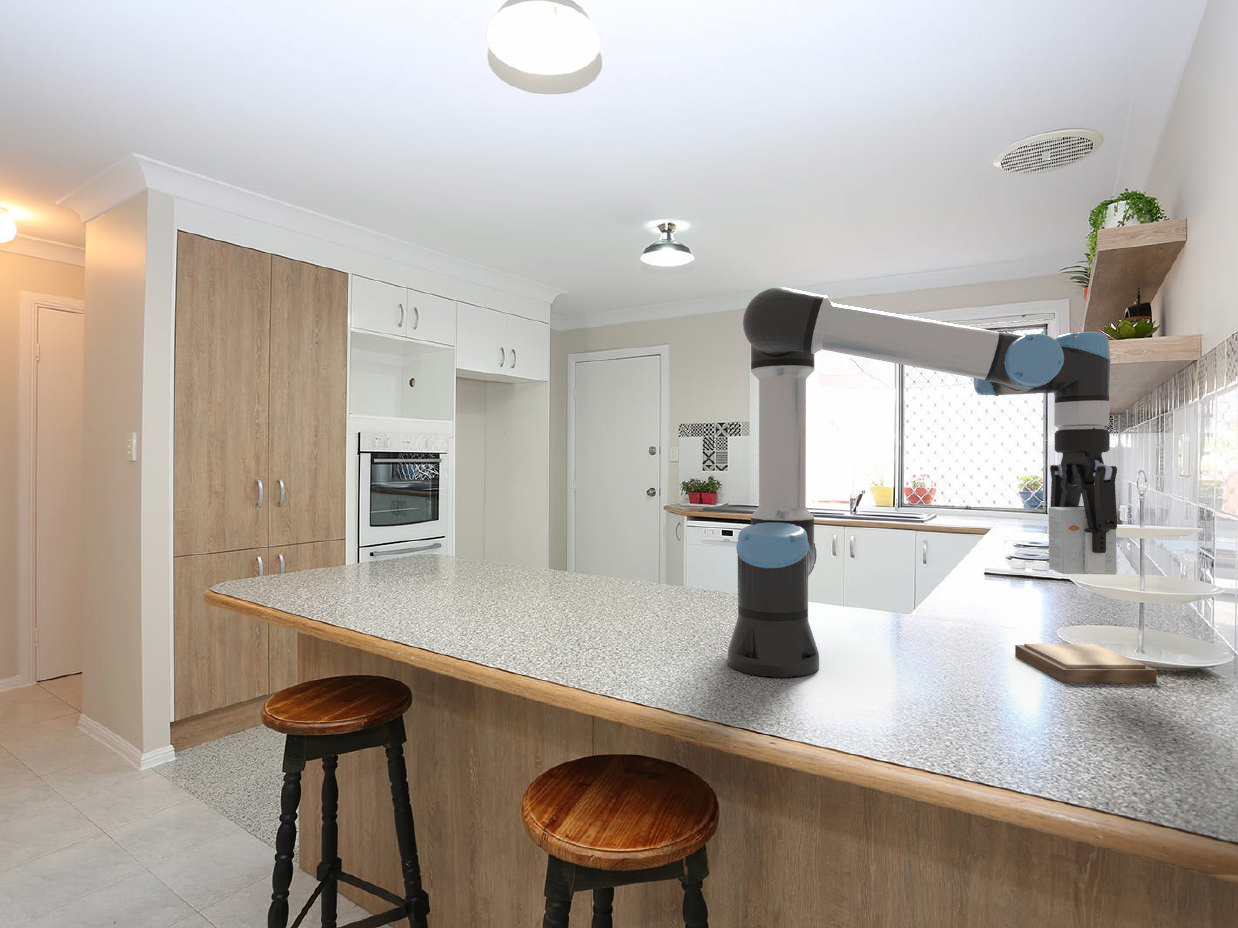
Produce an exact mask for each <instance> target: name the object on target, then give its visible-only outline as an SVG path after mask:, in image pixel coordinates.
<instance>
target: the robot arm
mask: <svg viewBox="0 0 1238 928" xmlns="http://www.w3.org/2000/svg"><path fill="white" fill-rule="evenodd" d="M742 317H743V319H742V325H743V326H742V327H743V332H744V336H745V337H746V340H747V341H748V342H749V344H750V372H751V374H753V376H754V377H755V378H756V379H757V381H758V507H757V508H756V510H755V511H754V512H753V513H751V515H750V524H749V525H746V526H744V527H742V529H741V530H740V531H739V532H738V535H737V536H738V537H737V544H736V554H737V606H738V607H737V618H736V619H737V620H736V623H735V626H734V629H733V632H732V636H731V638H730V640H729V641H730V642H729V644H728V648H727V663H728V665H729V666H730V667H731V668H732V669H735V670H737V671H739V672H742V673H745V674H750V675H752V676H753V675H754V676H759V677H760V676H761V677H766V676H770V677H769V678H793V677H792V676H797V677H802V676H808V675H810V674H813V672H814V673H815V672H817V671H819V669H820V652H819V649H818V646H817V643H816V641H815V636H814V635H813V632H812V629H811V625H810V622H809V576H810V575H811V574H812V571H813V570H814V568H815V565H816V562H817V548H816V543H815V516H814V515H813V514H812V513H811V512H810V511H809V510H808V509H807V506H806V505H807V504H806V503H807V501H806V498H807V497H806V496H807V495H806V494H807V493H806V492H807V491H806V490H807V488H806V484H807V482H806V481H807V477H806V476H807V475H806V474H807V473H806V469H807V466H806V465H807V461H806V459H807V457H806V456H807V455H806V454H807V450H806V447H807V444H806V443H807V441H806V440H807V438H806V437H807V435H806V434H807V433H806V432H807V431H806V430H807V427H806V426H807V422H806V421H807V415H806V414H807V400H806V399H807V379H808V377H810V375H811V374H812V373H813V372H814V371H815V354H817V352H819V351H822V350H823V351H828V352H833V353H838V354H839V353H840V354H845V355H850V356H854V357H862V358H867V359H872V360H876V361H882V362H888V363H893V364H897V365H904V366H908V367H914V368H918V369H919V368H920V369H925V370H929V371H930V370H931V371H935V372H940V373H941V372H942V373H945V374H952V375H957V376H961V377H962V376H963V377H968V378H973V388H974V390H975V393H977V395H981V396H995V397H999V396H1009V395H1011V396H1012V395H1032V394H1034V395H1035V394H1054V420H1053V421H1054V423H1053V426H1054V427H1056V428H1058V430H1056V431H1055V432H1054V451H1055V452H1056V453H1059V454H1060V453H1061V454H1062V458H1061V461H1060V464H1052V465H1051V464H1050V467H1049V472H1050V478H1051V481H1050V482H1051V486H1050V506H1049V507H1080V501H1081V499H1082V503H1083V507H1084V508H1085V513H1086V518H1087V523H1088V528H1087V529H1084V531H1085V573H1105V552H1106V533H1107V532H1108V531H1109V530H1115V529H1116V530H1117V529H1118V518H1117V517H1118V516H1117V515H1118V514H1117V496H1116V495H1117V494H1116V491H1117V490H1116V478H1117V473H1118V467H1117V466H1115V465H1107V464H1104V463H1105V462H1104V460H1103V456H1102V454H1103V453H1107V452H1109V451H1110V448H1111V446H1110V445H1111V444H1110V443H1111V441H1110V436H1111V435H1110V431H1109V430H1108V429H1105V427H1107V426H1110V412H1111V410H1110V373H1111V372H1110V370H1111V369H1110V366H1111V360H1112V359H1111V356H1110V343H1109V338H1108V335H1106V334H1105V333H1102V332H1099V331H1081V332H1075V333H1074V332H1071V333H1066V334H1062V335H1058V336H1057V337H1056V338H1053V337H1052V336H1049V335H1047V334H1043V333H1030V334H1029V333H1028V334H1025V335H1020V334H1014V333H1013V334H1012V333H1007V332H1000V331H996V330H989V329H984V328H978V327H972V326H967V325H960V324H953V323H947V322H942V321H936V320H931V319H926V318H925V319H924V318H919V317H914V316H908V315H902V314H896V313H889V312H886V311H885V312H884V311H880V310H879V311H878V310H873V309H866V308H861V307H855V306H848V305H842V304H837V303H833V302H832V301H831V299H830V297H829V296H828V295H822V294H816V293H812V292H808V291H803V290H799V289H793V288H788V287H781V286H780V287H772V288H771V287H770V288H767V289H765V290H763V291H761V292H759V293H758V294H757V295H755V296H754V297H753V298H752V299H751V301H749V302H748V305H747V306H746V308H745V311H744V314H743V316H742ZM1081 497H1082V498H1081ZM1108 521H1109V522H1108ZM816 670H817V671H816ZM771 676H772V677H771ZM790 676H791V677H790Z"/></svg>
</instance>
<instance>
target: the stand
mask: <svg viewBox="0 0 1238 928" xmlns="http://www.w3.org/2000/svg"><path fill="white" fill-rule="evenodd" d="M1014 646H1015V647H1014V649H1015V650H1014V651H1015V653H1014V656H1015V657H1016V658H1018V659H1019V660H1021V661H1023V662H1025V663H1026V664H1028V665H1030V666H1032V667H1034V668H1036V669H1037V670H1040V671H1042V672H1043V673H1044V674H1047V675H1048V676H1051V677H1053V678H1054V679H1056V680H1058V681H1060V682H1062V683H1065V684H1066V683H1067V684H1069V683H1072V684H1076V683H1079V684H1083V683H1084V684H1085V683H1086V684H1099V683H1100V684H1102V683H1103V684H1157V677H1158V675H1157V674H1158V673H1157V670H1158V669H1155V668H1153V667H1150V666H1148V665H1146V664H1144V663H1142V662H1139V661H1137V660H1135V659H1131V658H1129V657H1128V656H1125V655H1123V654H1121V653H1118V652H1116V651H1113V650H1111V649H1108V648H1106V647H1103V646H1101V645H1098V644H1096V643H1024V644H1015V645H1014Z"/></svg>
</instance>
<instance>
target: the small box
mask: <svg viewBox="0 0 1238 928" xmlns="http://www.w3.org/2000/svg"><path fill="white" fill-rule="evenodd" d="M1108 522H1109V521H1108ZM1087 528H1088V523H1087V518H1086V513H1085V508H1084V506H1079V507H1050V506H1049V507H1048V567H1049V569H1050V570H1053V571H1055V572H1058V573H1060V574H1064V575H1108V576H1109V575H1114V576H1115V575H1117V566H1118V565H1117V528H1116V529H1115V530H1109V531H1108V532H1107V533H1106V552H1105V573H1085V531H1084V529H1087Z"/></svg>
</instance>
